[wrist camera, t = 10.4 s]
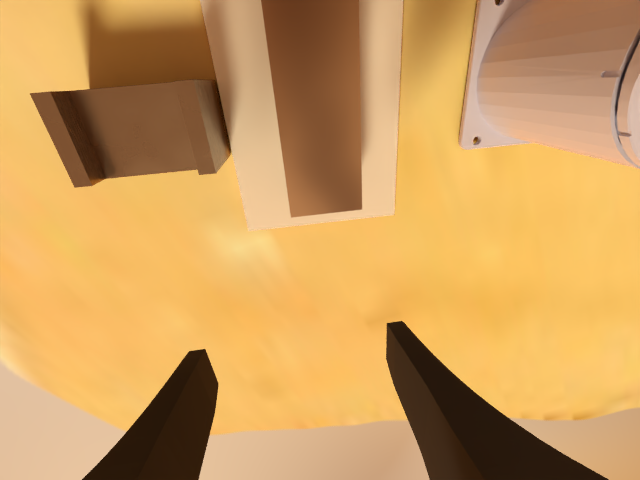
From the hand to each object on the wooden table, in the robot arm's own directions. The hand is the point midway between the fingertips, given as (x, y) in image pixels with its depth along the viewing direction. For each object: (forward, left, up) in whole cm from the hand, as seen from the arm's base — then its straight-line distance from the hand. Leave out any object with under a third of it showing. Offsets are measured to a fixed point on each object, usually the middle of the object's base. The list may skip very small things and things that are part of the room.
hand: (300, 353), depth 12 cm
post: (+6, -8, -10) cm, 15 cm away
